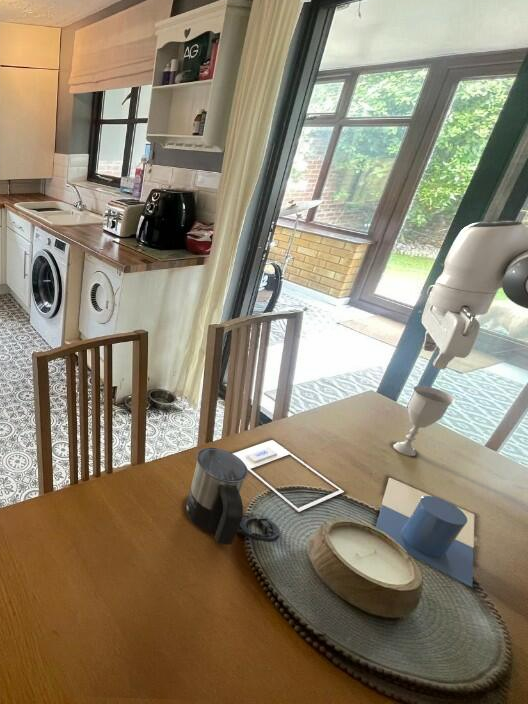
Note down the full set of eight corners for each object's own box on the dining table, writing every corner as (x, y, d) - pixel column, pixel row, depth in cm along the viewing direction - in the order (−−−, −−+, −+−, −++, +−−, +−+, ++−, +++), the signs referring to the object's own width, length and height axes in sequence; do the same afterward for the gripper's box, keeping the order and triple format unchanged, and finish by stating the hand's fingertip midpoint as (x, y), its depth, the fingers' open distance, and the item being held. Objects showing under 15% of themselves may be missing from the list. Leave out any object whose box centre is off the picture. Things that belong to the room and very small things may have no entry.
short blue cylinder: (424, 527, 83) (444, 496, 79) (454, 557, 77) (477, 525, 73) (392, 527, 83) (411, 495, 79) (420, 557, 77) (441, 524, 74)
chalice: (416, 448, 105) (447, 390, 98) (426, 466, 100) (461, 406, 92) (380, 440, 108) (408, 383, 100) (389, 456, 102) (419, 397, 95)
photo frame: (272, 439, 106) (344, 490, 91) (271, 442, 107) (342, 494, 92) (230, 453, 101) (299, 511, 86) (229, 457, 102) (297, 514, 87)
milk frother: (174, 502, 90) (187, 450, 83) (237, 490, 93) (254, 439, 86) (216, 563, 77) (234, 507, 71) (287, 547, 80) (311, 493, 74)
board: (387, 480, 96) (389, 477, 95) (472, 517, 86) (474, 514, 86) (371, 539, 82) (373, 536, 81) (470, 591, 73) (472, 587, 72)
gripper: (500, 319, 75) (467, 383, 80) (465, 289, 91) (440, 344, 96) (453, 312, 78) (424, 374, 84) (427, 284, 94) (404, 338, 99)
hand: (432, 358), depth 90 cm, fingers open, 8 cm apart
